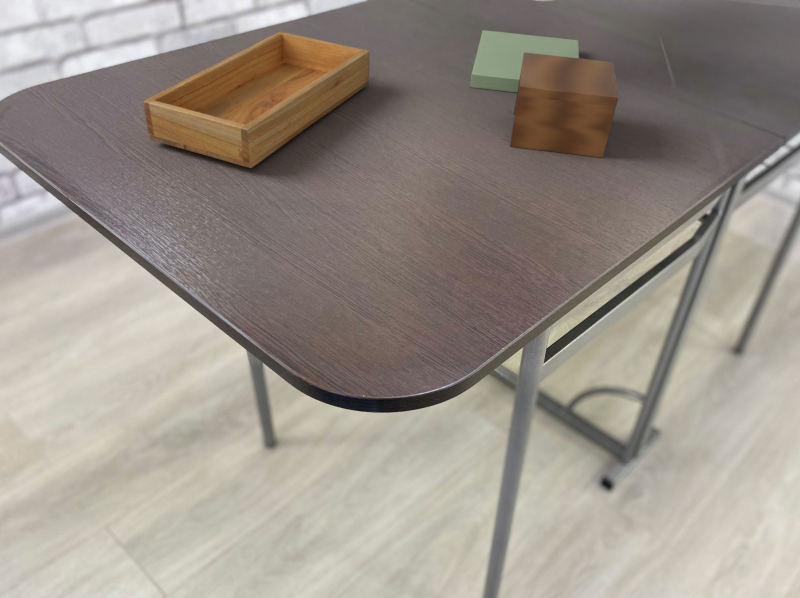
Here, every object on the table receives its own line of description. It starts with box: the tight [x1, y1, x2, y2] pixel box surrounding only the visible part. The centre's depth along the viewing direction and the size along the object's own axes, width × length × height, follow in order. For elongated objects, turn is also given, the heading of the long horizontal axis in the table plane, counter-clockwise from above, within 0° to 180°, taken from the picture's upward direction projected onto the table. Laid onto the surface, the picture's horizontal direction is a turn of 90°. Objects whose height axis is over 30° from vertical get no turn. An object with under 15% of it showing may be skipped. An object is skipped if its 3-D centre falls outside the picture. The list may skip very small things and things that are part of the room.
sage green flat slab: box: [469, 29, 580, 94], centre depth 113 cm, size 16×20×2 cm
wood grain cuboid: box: [509, 52, 619, 158], centre depth 95 cm, size 12×12×8 cm
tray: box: [142, 31, 371, 169], centre depth 96 cm, size 31×15×6 cm, turn 154°
